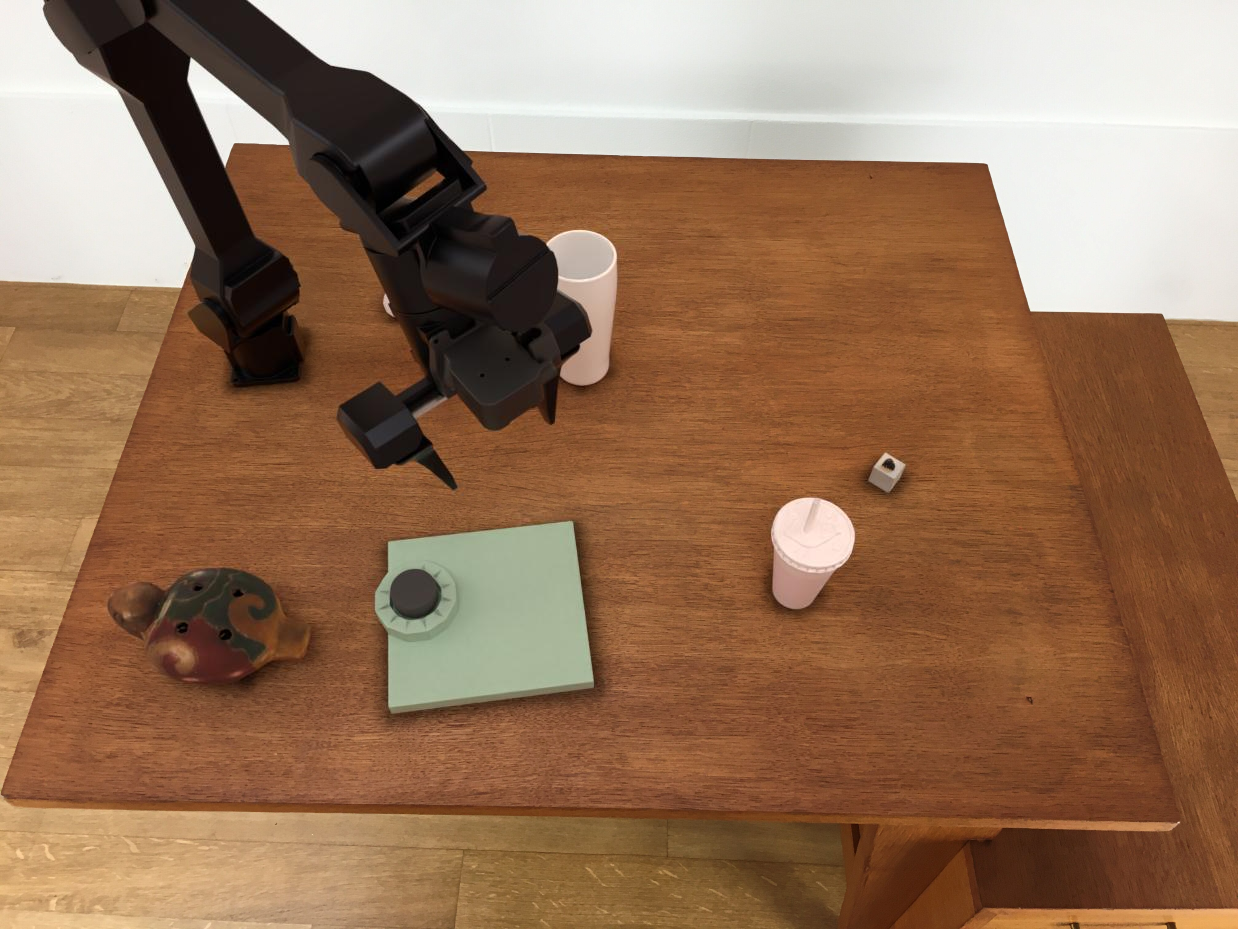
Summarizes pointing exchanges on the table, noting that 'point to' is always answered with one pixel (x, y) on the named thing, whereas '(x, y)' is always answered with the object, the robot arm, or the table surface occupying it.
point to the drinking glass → (588, 298)
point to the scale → (488, 618)
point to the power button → (414, 593)
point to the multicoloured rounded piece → (209, 625)
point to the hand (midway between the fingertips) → (502, 454)
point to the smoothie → (808, 549)
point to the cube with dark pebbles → (886, 472)
